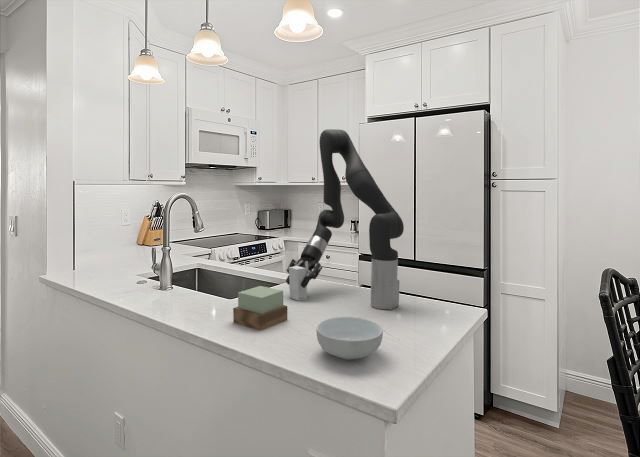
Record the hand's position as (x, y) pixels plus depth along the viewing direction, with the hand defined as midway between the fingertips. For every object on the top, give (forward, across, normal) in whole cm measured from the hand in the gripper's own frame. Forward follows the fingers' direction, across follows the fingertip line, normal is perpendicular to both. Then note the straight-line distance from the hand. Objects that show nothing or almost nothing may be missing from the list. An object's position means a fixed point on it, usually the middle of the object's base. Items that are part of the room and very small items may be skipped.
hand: (295, 284), depth 151 cm
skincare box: (+3, 0, +5) cm, 6 cm away
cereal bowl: (+24, +42, -16) cm, 51 cm away
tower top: (+18, +6, -16) cm, 25 cm away
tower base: (+22, +6, -13) cm, 26 cm away
